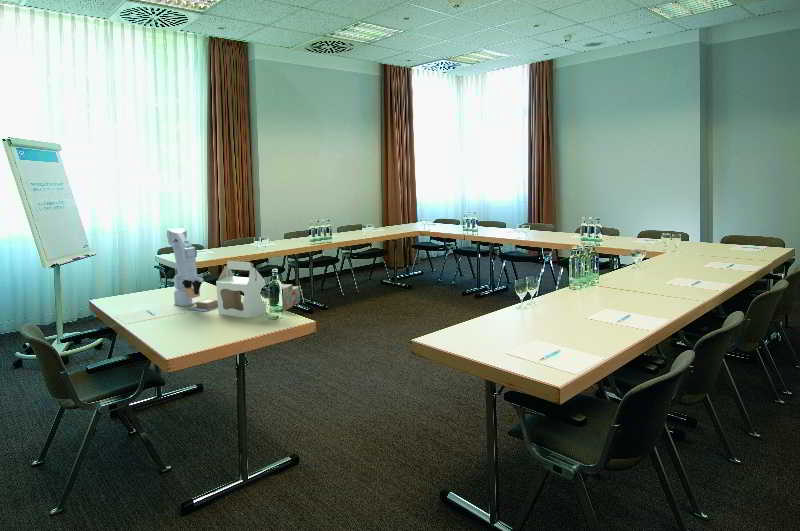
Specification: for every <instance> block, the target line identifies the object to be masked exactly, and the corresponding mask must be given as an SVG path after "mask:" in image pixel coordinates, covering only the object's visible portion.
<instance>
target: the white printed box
mask: <svg viewBox="0 0 800 531" xmlns="http://www.w3.org/2000/svg"><path fill="white" fill-rule="evenodd" d="M281 285H282V289H283V309H284V310H285V311H287V310H289V309H291V308H292V307H294V306H296V305H297V304H300V303H301V292H300V290H301V289H300V286H298V285H297V286H294V285H293V284H292V283H291V284H286V283H283V284H281Z"/></svg>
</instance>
